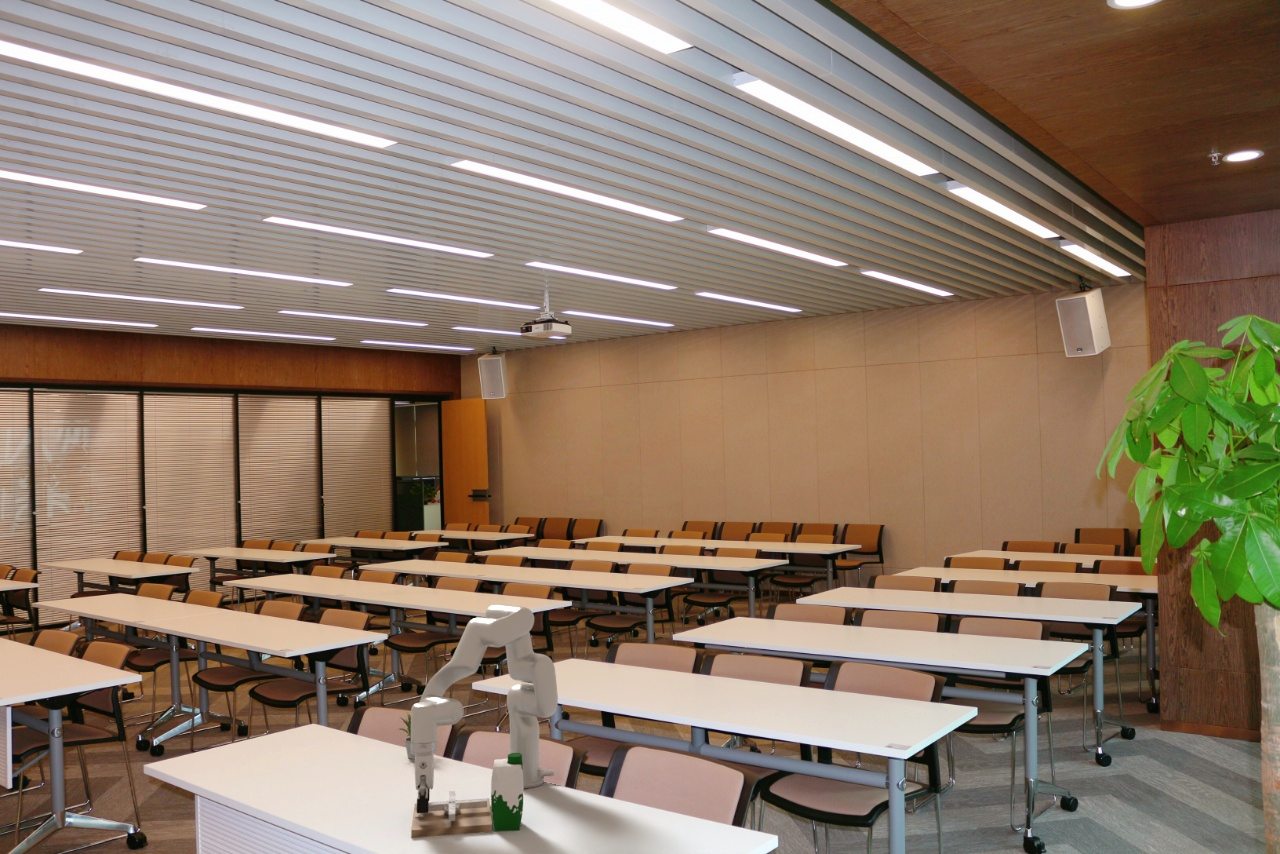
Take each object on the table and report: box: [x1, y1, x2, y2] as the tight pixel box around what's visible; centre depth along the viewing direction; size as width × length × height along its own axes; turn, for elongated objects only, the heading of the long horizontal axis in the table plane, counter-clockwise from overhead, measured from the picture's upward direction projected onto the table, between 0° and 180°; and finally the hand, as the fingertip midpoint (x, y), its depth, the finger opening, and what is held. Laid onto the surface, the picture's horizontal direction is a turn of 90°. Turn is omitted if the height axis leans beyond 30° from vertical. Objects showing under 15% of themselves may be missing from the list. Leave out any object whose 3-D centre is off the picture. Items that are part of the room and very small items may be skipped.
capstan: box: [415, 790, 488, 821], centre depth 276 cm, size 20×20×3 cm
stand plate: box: [410, 798, 493, 839], centre depth 276 cm, size 22×22×2 cm
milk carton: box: [490, 753, 524, 832], centre depth 272 cm, size 9×9×20 cm
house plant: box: [397, 711, 415, 760], centre depth 339 cm, size 14×14×16 cm
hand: (423, 807), depth 275 cm, fingers open, 9 cm apart
